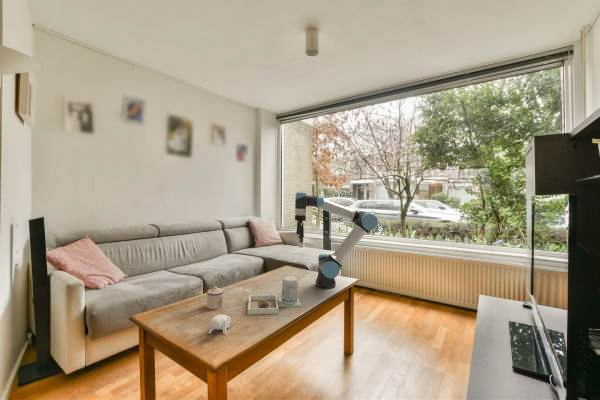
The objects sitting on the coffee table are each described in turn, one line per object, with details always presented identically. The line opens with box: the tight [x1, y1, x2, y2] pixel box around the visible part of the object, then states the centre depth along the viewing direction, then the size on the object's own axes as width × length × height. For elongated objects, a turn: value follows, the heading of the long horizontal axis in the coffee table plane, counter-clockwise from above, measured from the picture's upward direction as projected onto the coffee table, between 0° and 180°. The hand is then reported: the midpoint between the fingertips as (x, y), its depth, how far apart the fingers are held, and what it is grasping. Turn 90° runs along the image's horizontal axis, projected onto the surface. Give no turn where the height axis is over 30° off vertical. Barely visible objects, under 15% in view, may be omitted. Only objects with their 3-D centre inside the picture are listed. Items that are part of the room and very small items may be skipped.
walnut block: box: [257, 300, 270, 308], centre depth 156 cm, size 5×5×5 cm
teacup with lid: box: [206, 285, 224, 310], centre depth 161 cm, size 12×9×12 cm
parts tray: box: [247, 294, 280, 316], centre depth 162 cm, size 17×21×3 cm
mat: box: [277, 296, 302, 308], centre depth 169 cm, size 13×13×1 cm
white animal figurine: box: [207, 314, 232, 335], centre depth 131 cm, size 9×8×15 cm
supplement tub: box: [281, 275, 299, 304], centre depth 169 cm, size 10×10×15 cm
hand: (299, 245), depth 188 cm, fingers open, 13 cm apart
